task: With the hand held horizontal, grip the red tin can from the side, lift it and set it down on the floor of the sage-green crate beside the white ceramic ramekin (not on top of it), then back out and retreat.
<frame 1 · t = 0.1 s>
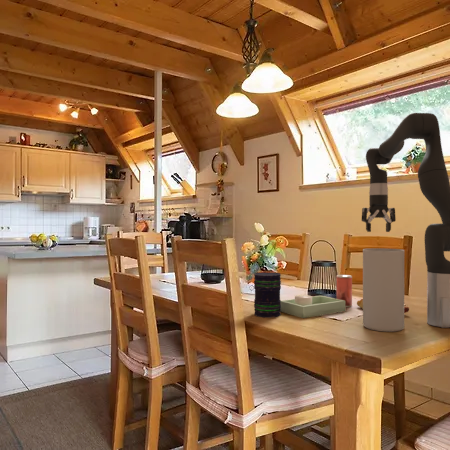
hand: (378, 231, 186), 29 cm above the table, tool pointing down, fingers open, 8 cm apart
storage jar: (267, 315, 158), on the table
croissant: (381, 312, 163), on the table
tin: (344, 305, 174), on the table
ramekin: (303, 308, 161), point 2 cm above the table, touching crate
cylinder vase: (383, 327, 139), on the table
crate: (312, 311, 163), on the table
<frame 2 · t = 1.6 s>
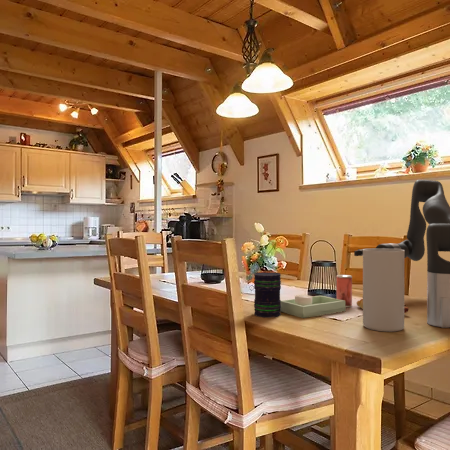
hand: (362, 254, 179), 20 cm above the table, tool horizontal, fingers open, 8 cm apart
nothing on the table moved.
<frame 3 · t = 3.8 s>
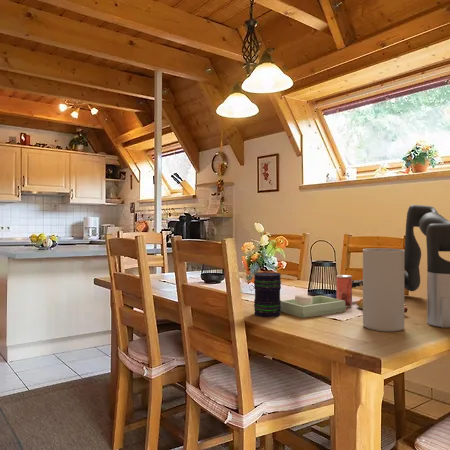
hand: (356, 286, 177), 7 cm above the table, tool horizontal, fingers open, 8 cm apart
nothing on the table moved.
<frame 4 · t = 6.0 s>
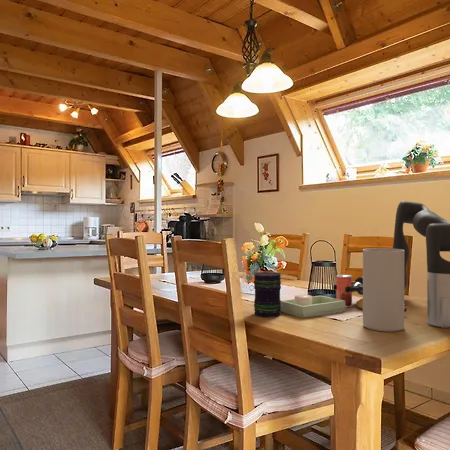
hand: (340, 288, 172), 7 cm above the table, tool horizontal, fingers closed on tin, 6 cm apart
tin: (344, 305, 174), on the table, touching gripper
everything else where it was.
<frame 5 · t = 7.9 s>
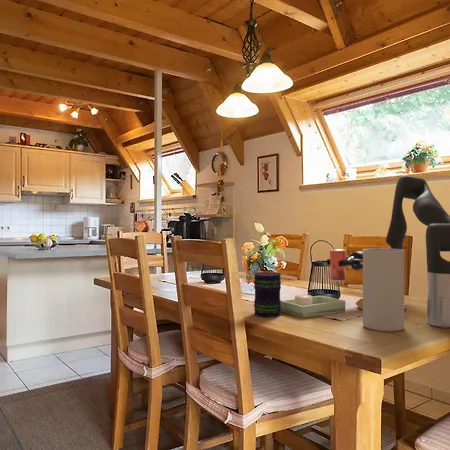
hand: (333, 262, 170), 18 cm above the table, tool horizontal, fingers closed on tin, 6 cm apart
tin: (337, 280, 171), point 11 cm above the table, touching gripper
everything else where it was.
when the fingers open (10 cm above the table, at t = 10.4 s): tin drops 2 cm, resting on crate.
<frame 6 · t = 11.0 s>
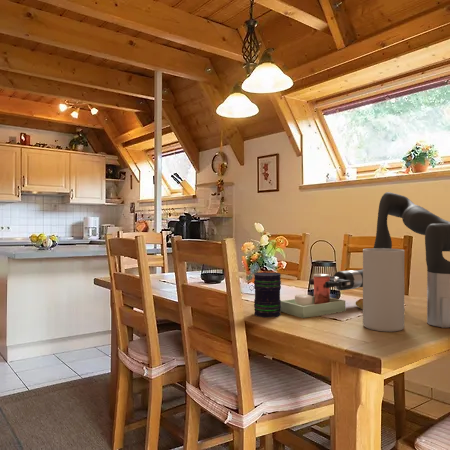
hand: (317, 283, 164), 10 cm above the table, tool horizontal, fingers open, 8 cm apart
tin: (321, 306, 165), point 2 cm above the table, touching crate
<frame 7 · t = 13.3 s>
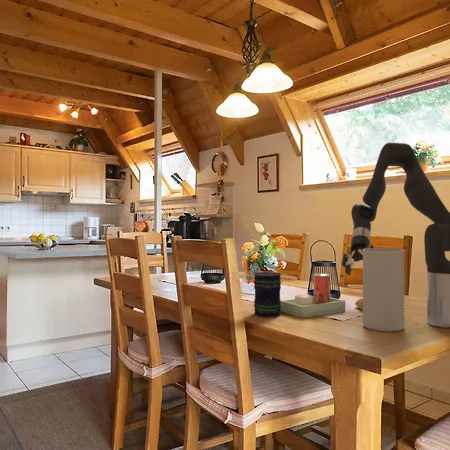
hand: (357, 271, 170), 14 cm above the table, tool tilted 45°, fingers open, 8 cm apart
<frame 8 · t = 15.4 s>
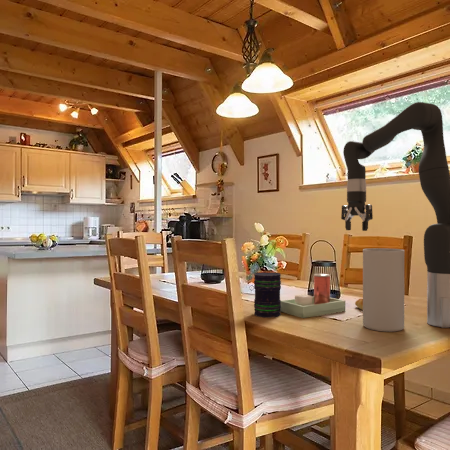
hand: (356, 230, 176), 30 cm above the table, tool pointing down, fingers open, 8 cm apart
at the end: tin inside the target area (0.1 cm from its centre), point 1.5 cm above the table; tin tilted 1°; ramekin moved 0.2 cm from its start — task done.
